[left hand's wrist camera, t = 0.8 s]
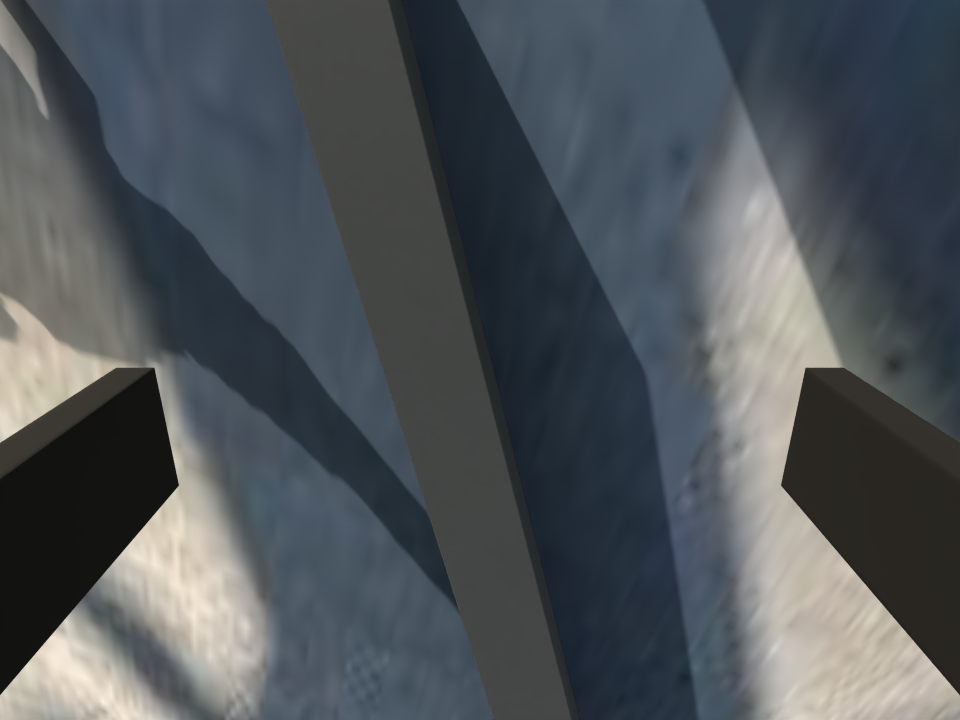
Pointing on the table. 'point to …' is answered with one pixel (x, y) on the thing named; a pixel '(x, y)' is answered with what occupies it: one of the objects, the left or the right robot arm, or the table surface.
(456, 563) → the post
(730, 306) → the table surface
